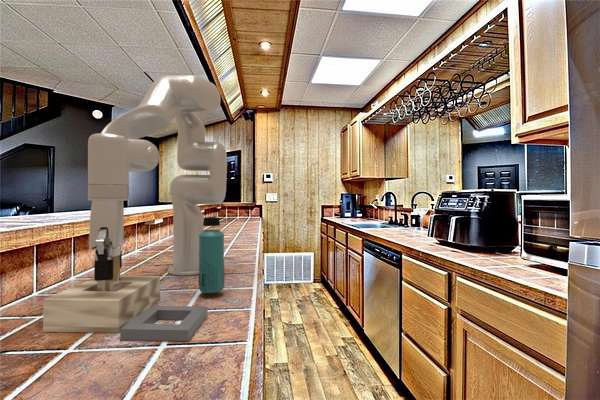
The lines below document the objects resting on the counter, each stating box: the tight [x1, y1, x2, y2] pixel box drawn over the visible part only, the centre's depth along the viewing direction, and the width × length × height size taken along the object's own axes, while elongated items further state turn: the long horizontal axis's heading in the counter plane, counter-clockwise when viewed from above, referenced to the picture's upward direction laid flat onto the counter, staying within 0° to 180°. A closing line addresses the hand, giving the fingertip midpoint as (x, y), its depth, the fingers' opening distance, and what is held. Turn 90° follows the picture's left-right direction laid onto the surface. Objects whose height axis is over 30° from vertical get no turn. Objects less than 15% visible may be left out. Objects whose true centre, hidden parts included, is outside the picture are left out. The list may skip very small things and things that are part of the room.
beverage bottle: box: [197, 216, 225, 294], centre depth 84 cm, size 6×7×20 cm
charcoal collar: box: [119, 305, 209, 342], centre depth 64 cm, size 12×12×2 cm
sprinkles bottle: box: [97, 246, 122, 291], centre depth 70 cm, size 5×5×14 cm
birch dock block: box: [42, 274, 161, 334], centre depth 70 cm, size 18×14×6 cm
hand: (109, 274), depth 70 cm, fingers open, 9 cm apart
